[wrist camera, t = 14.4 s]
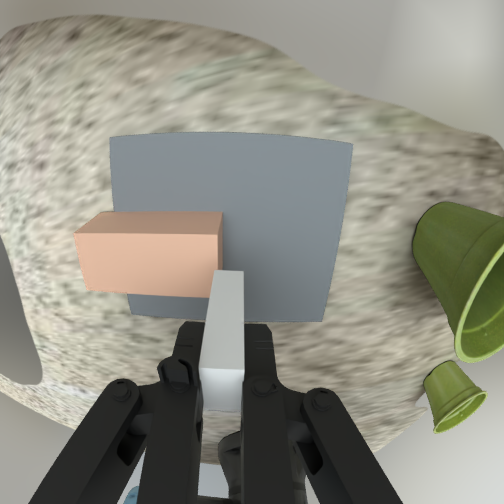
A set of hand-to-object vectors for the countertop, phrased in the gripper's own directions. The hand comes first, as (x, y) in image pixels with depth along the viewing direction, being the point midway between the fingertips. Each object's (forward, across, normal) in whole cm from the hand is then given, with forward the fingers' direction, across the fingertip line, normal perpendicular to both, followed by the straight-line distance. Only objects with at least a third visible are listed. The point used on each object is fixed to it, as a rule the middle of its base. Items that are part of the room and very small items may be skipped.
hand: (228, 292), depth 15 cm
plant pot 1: (+8, -19, -1) cm, 21 cm away
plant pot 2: (+8, -32, +21) cm, 39 cm away
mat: (+8, +1, 0) cm, 8 cm away
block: (+5, +1, 0) cm, 5 cm away
